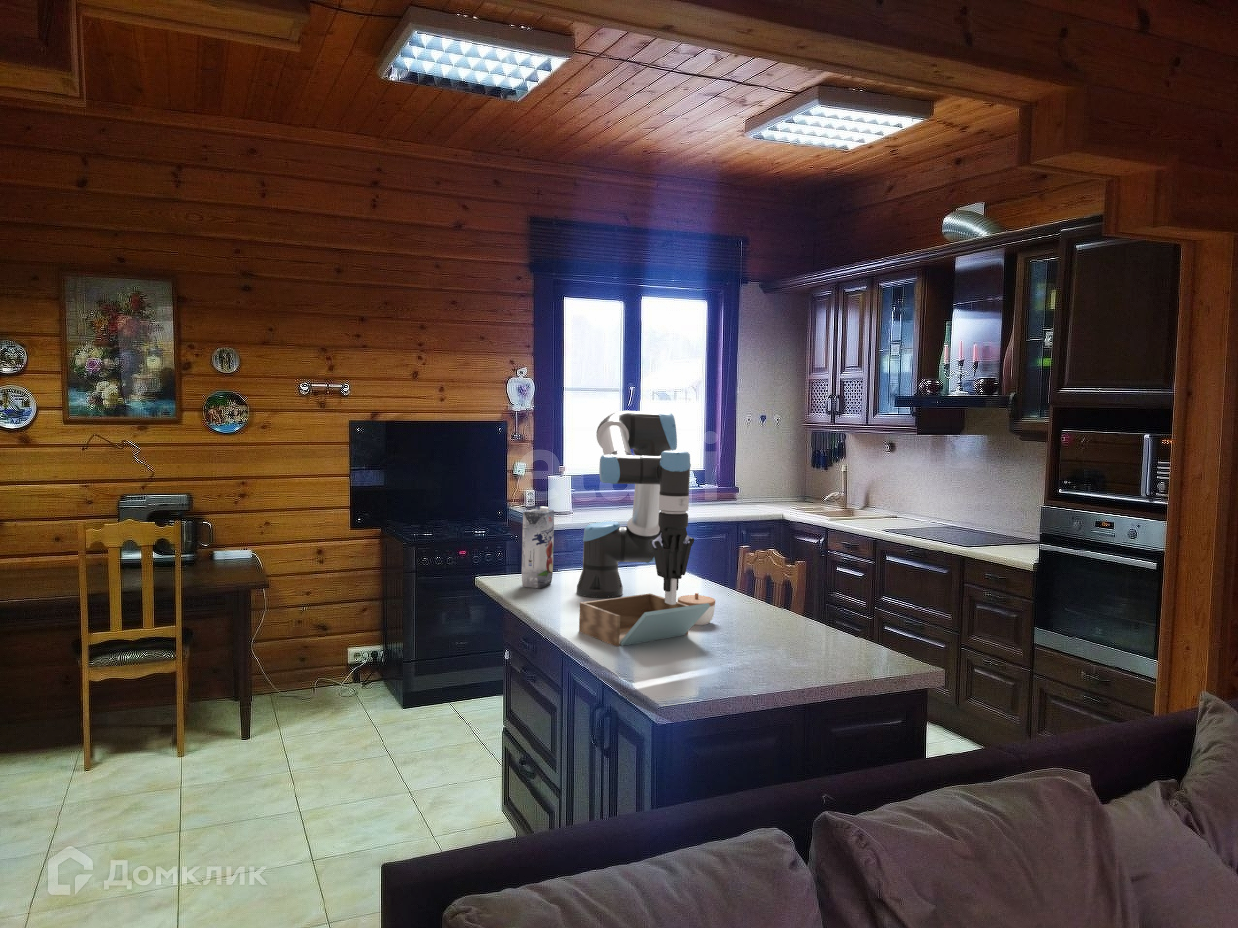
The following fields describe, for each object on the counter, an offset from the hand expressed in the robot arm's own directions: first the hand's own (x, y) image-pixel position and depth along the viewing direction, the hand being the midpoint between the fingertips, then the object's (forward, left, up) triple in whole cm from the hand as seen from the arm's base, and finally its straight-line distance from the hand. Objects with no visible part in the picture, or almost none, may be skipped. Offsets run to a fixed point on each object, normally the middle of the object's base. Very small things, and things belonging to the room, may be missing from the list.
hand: (670, 603), depth 229 cm
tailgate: (-7, 0, -11) cm, 13 cm away
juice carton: (-84, +11, -13) cm, 86 cm away
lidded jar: (-16, +23, -13) cm, 31 cm away
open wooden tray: (-15, 0, -12) cm, 19 cm away
